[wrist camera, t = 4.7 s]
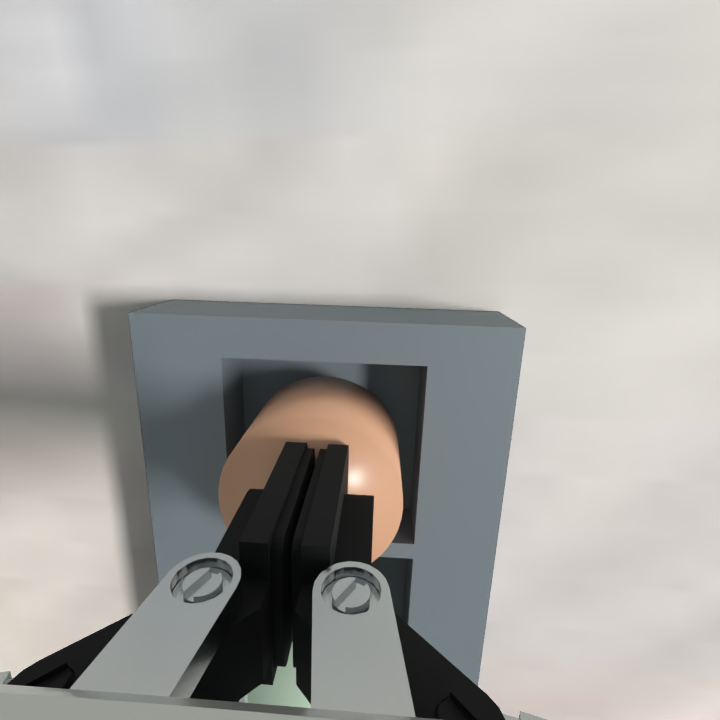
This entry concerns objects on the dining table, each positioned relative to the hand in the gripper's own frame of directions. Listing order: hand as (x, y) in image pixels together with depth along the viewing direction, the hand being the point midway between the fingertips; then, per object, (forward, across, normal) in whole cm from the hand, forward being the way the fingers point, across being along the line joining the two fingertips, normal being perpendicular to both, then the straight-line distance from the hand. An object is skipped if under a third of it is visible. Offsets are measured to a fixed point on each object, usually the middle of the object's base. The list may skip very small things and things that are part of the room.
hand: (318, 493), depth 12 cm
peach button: (+3, 0, 0) cm, 3 cm away
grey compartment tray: (+6, 0, +7) cm, 9 cm away
